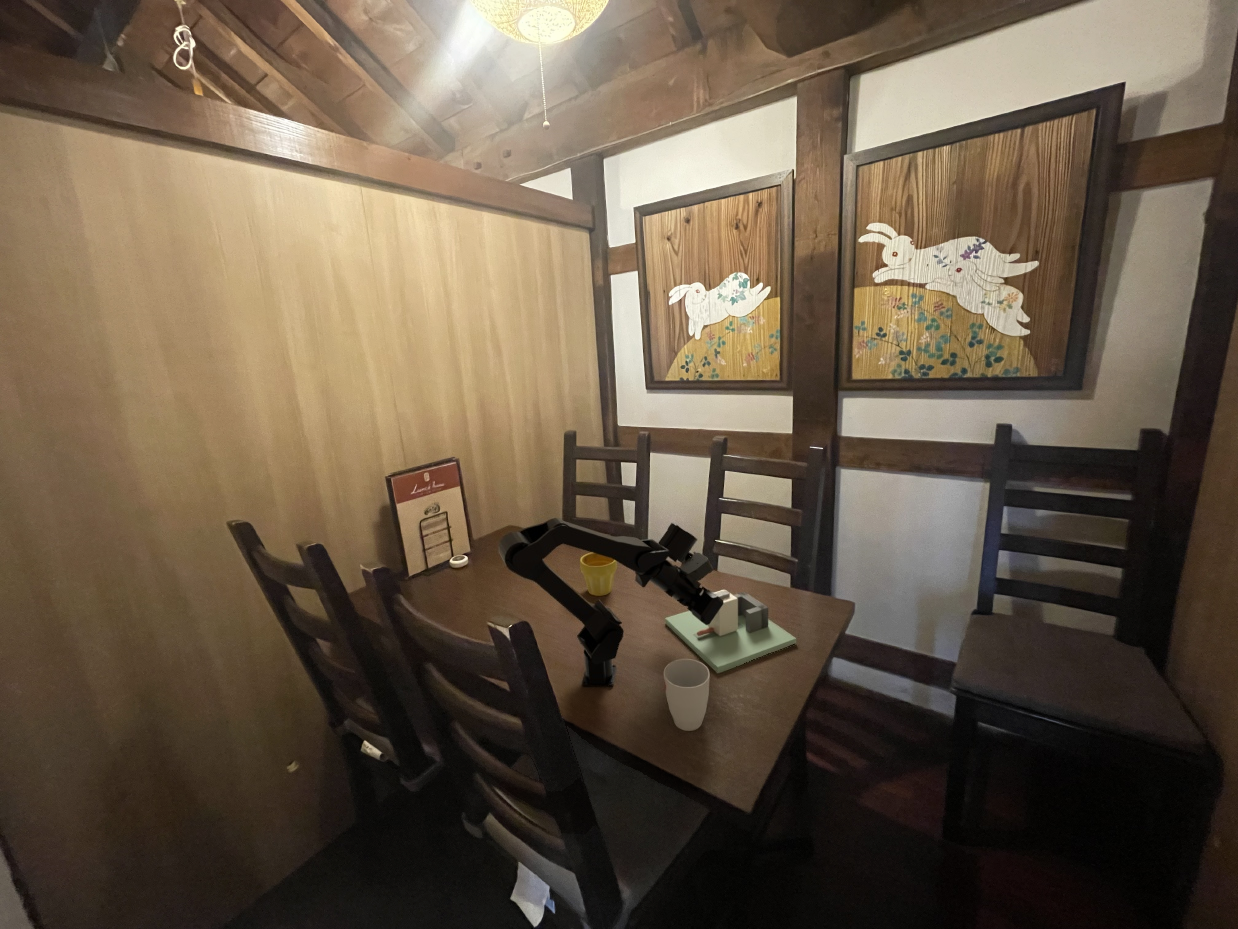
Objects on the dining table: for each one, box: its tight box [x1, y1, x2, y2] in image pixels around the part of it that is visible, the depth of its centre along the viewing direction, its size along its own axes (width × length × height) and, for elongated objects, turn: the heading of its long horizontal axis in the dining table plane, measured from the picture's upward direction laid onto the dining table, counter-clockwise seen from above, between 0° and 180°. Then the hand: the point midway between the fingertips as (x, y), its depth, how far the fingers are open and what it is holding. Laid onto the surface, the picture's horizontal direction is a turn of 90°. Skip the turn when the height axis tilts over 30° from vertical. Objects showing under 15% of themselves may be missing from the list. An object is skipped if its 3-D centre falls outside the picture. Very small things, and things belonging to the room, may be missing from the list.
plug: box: [697, 589, 738, 636], centre depth 114 cm, size 9×5×9 cm, turn 114°
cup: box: [663, 658, 710, 732], centre depth 90 cm, size 8×8×10 cm
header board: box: [664, 610, 797, 674], centre depth 117 cm, size 21×22×2 cm
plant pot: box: [579, 552, 618, 597], centre depth 141 cm, size 10×10×10 cm
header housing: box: [732, 591, 769, 633], centre depth 118 cm, size 5×9×5 cm, turn 24°
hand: (712, 609), depth 114 cm, fingers closed, pressing on plug
